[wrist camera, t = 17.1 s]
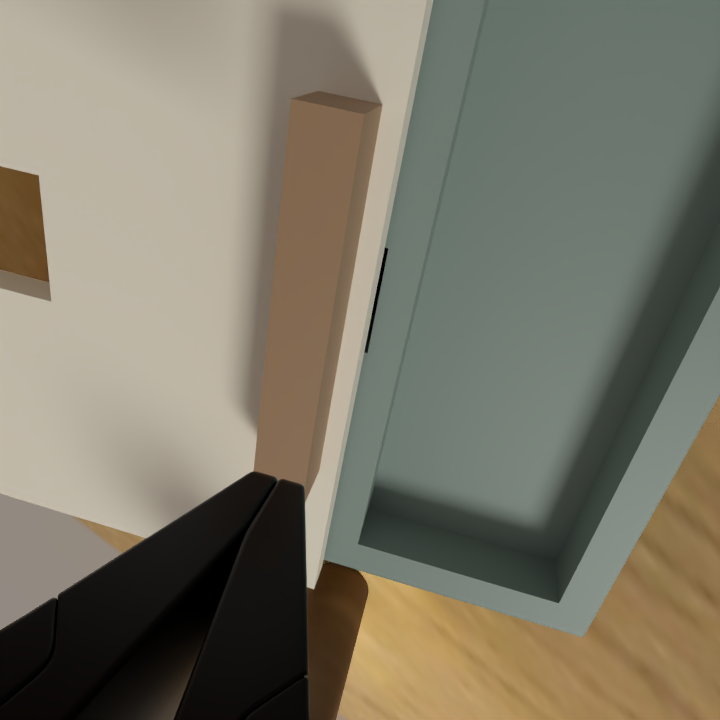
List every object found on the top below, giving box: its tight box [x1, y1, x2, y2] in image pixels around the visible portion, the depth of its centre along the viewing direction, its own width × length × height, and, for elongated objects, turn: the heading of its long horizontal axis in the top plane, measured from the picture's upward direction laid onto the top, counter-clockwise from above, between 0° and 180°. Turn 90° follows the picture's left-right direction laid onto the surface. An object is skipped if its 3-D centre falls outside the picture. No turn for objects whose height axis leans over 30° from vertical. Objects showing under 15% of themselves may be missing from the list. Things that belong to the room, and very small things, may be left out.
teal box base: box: [324, 0, 720, 637], centre depth 17 cm, size 13×20×2 cm, turn 170°
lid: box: [0, 0, 433, 589], centre depth 15 cm, size 13×20×3 cm, turn 170°
